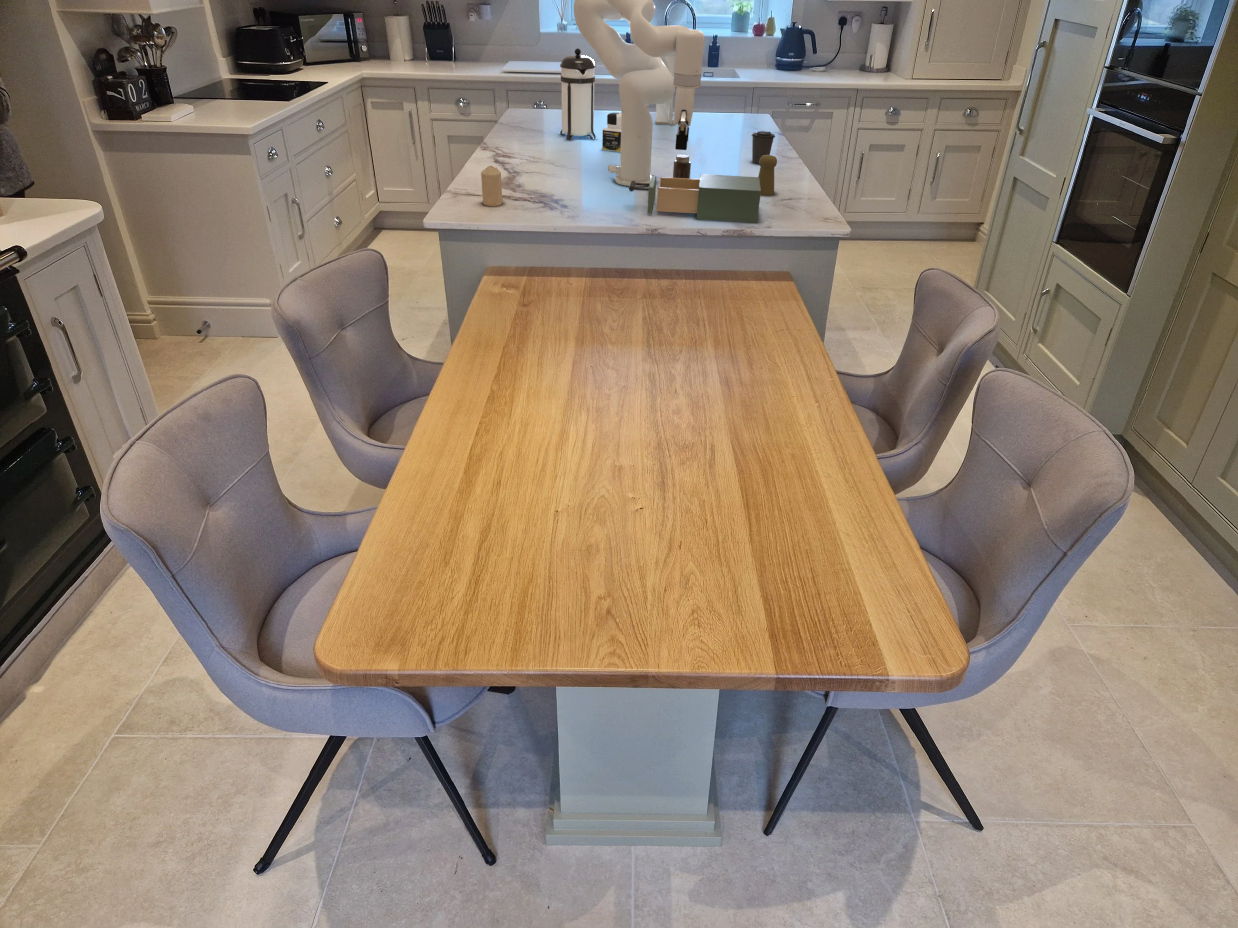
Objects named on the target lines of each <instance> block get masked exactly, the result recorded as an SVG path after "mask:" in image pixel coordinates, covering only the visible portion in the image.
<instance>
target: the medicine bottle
mask: <svg viewBox="0 0 1238 928" xmlns="http://www.w3.org/2000/svg"><path fill="white" fill-rule="evenodd" d="M606 126H607V127H604V128H603V129H602V143H601V145H602V146H601V149H602V151H610V152H617V153H621V112H610V113H608V114H607V115H606Z"/></svg>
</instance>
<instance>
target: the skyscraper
mask: <svg viewBox="0 0 1238 928" xmlns="http://www.w3.org/2000/svg"><path fill="white" fill-rule="evenodd" d="M660 58H661V60H662V61H663V63H664V64H665V65H666V67H667V68H668V70H669V71H670V73H671V75H672V77H673V78H674V65H675V56H666V57H660ZM674 106H675V102H674V96H673V97H672V99H671V100H669V101H668V102H666V103H662V104H655V115H656V116H655V124H656V125H665V126H667V125H668V126H674V125H673V120H674Z"/></svg>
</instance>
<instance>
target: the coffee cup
mask: <svg viewBox="0 0 1238 928" xmlns="http://www.w3.org/2000/svg"><path fill="white" fill-rule="evenodd" d="M775 138H776V136H775V134H774V133H772V132H771V131H764V130H760V131H759V130H758V131H754V132H752V134H751V139H752V144H751V145H752V149H751V155H752V156H751V162H752V164H754V165H759V166H760V163H759V161H760V158H761V157H762V156H763V155H771V152H772V147H773V143H774V139H775Z"/></svg>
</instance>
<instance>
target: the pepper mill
mask: <svg viewBox="0 0 1238 928" xmlns="http://www.w3.org/2000/svg"><path fill="white" fill-rule="evenodd" d="M691 168H692V160H690V155H688V154H677V155H676V156H675V159H674V160H673V169H672V178H688V179H691Z"/></svg>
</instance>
